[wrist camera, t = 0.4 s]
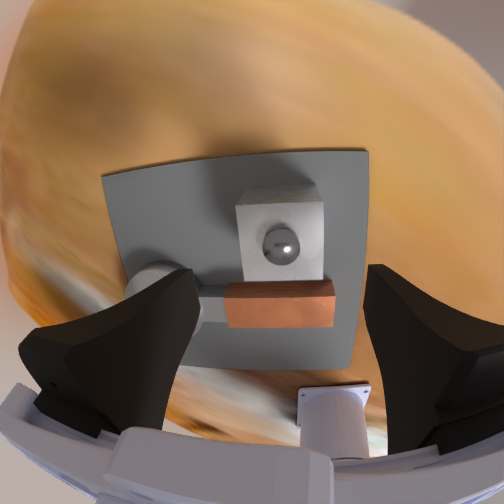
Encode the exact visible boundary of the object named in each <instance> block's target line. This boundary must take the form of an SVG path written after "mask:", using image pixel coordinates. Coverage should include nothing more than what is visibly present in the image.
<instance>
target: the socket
mask: <svg viewBox="0 0 504 504" xmlns="http://www.w3.org/2000/svg"><path fill="white" fill-rule="evenodd" d="M235 208H236V217H237V225H238V233H239V242H240V250H241V258H242V266H243V274H244V281H285V280H321V279H323V257H324V202H323V199H322V197H321V195H320V192H319V190H318V188H317V185H316V184H303V185H279V186H260V187H247V189H246V190H245V192H244V193H243V195H242V196H241V198H240V199H239V201H238V202H237V204H236V205H235Z"/></svg>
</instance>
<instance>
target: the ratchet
mask: <svg viewBox="0 0 504 504" xmlns="http://www.w3.org/2000/svg"><path fill="white" fill-rule="evenodd" d="M177 269H187V268H186V267H184V266H182V265H180V264H178V263H175V262H172V261H166V260H157V261H152V262H150V263H147V264H146V265H144V266H143V267H142V268H141V269H140V270H139V271H138V272H137V273H136V275H135V276H134V277H133V278H132V279H131V280H130V281H129V283H128V285H127V287H126V290H125V300H126V299H128V298H129V297H131V296H133V295H135V294H136V293H138V292H140V291H142V290H143V289H145V288H147V287H148V286H150V285H151V284H153V283H155V282H156V281H158V280H160V279H161V278H163V277H164V276H166V275H168V274H169V273H171V272H173V271H175V270H177ZM193 275H194V279H195V284H196V289H197V293H198V298H199V302H200V306H201V310H200V314H199V318H198V322H197V325H196V328H195V330H194V333H193V335H192V337H193V336H194V335H196V334H197V333H198V331H199V330H200V328H201V326H202V323H203V322H228V326H229V328H311V327H333V321H334V310H335V298H336V296H335V291H334V287H333V282H332V280H322V281H288V282H229V285H203V284H202V282H201V281H200V279H199V278H198V277H197V276H196V275H195V274H194V273H193Z"/></svg>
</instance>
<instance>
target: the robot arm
mask: <svg viewBox="0 0 504 504" xmlns="http://www.w3.org/2000/svg"><path fill="white" fill-rule="evenodd" d="M363 309H364V315H365V320H366V326H367V329H368V332H369V335H370V339H371V342H372V345H373V348H374V351H375V354H376V358H377V361H378V364H379V368H380V372H381V376H382V381H383V388H384V395H385V404H386V414H387V431H388V455H387V456H381V457H374V458H370V457H369V447H368V439H367V431H366V423H365V416H364V407H365V404H366V402H367V399H368V396H369V393H370V390H371V385H370V384H360V385H348V386H333V387H308V388H300V389H299V390H298V413H297V429H298V430H301V433H300V447H293V446H284V445H268V444H250V443H238V442H228V441H219V440H212V439H205V438H198V437H192V436H186V435H181V434H176V433H171V432H166V431H162V426H163V421H164V416H165V411H166V407H167V403H168V399H169V395H170V391H171V388H172V384H173V381H174V378H175V374H176V372H177V369H178V367H179V364H180V362H181V360H182V358H183V355H184V353H185V351H186V349H187V346H188V344H189V342H190V340H191V337H192V335H193V333H194V330H195V328H196V325H197V322H198V318H199V314H200V310H201V306H200V302H199V298H198V293H197V289H196V284H195V279H194V275H193V270H192V269H177V270H175V271H173V272H171V273H169V274H168V275H166V276H164V277H163V278H161V279H160V280H158V281H156V282H155V283H153V284H151V285H150V286H148V287H147V288H145V289H143V290H142V291H140V292H138V293H136V294H135V295H133V296H131V297H129V298H128V299H126V300H124V301H122V302H120V303H118V304H116V305H114V306H112V307H110V308H107V309H105V310H103V311H100V312H97V313H95V314H92V315H89V316H87V317H84V318H81V319H77V320H74V321H70V322H66V323H62V324H58V325H52V326H47V327H41V328H35V329H34V330H32V331H31V332H30V333H29V334H28V335H27V337H26V338H25V339H24V340H23V341H22V342H21V343H20V344H19V347H18V351H19V355H20V358H21V360H22V362H23V363H24V365H25V367H26V368H27V370H28V371H29V373H30V374H31V376H32V377H33V378H34V380H35V381H36V382H37V384H38V385H39V386H40V388H41V389H42V391H41V392H40V394H39V395H38V394H37V393H36V392H35V391H33V390H32V389H30V388H28V387H26V386H24V385H23V384H21V383H17V384H16V385H15V386H14V388H13V389H12V390H11V392H10V393H9V395H8V396H7V397H6V399H5V400H4V402H3V403H2V404H1V406H0V434H1V435H2V436H3V437H4V438H5V439H6V440H8V441H9V442H10V443H11V444H12V445H13V446H14V447H15V448H17V449H18V450H19V451H20V452H21V453H22V454H24V455H25V456H26V457H27V458H28V459H30V460H31V461H33V462H34V463H35V464H37V465H38V466H40V467H41V468H43V469H44V470H46V471H47V472H48V473H50V474H52V475H53V476H55V477H56V478H58V479H59V480H61V481H63V482H65V483H66V484H68V485H69V486H71V487H73V488H74V489H76V490H78V491H80V492H81V493H83V494H85V495H87V496H89V497H91V498H93V499H95V500H97V501H96V504H477V503H479V502H481V501H483V500H485V499H487V498H489V497H491V496H492V495H494V494H496V493H498V492H500V491H501V490H503V489H504V326H503V325H498V324H495V323H491V322H488V321H484V320H481V319H478V318H476V317H473V316H470V315H468V314H465V313H463V312H460V311H458V310H456V309H454V308H452V307H450V306H448V305H446V304H444V303H442V302H440V301H438V300H436V299H435V298H433V297H431V296H430V295H428V294H427V293H425V292H423V291H422V290H420V289H419V288H417V287H416V286H414V285H413V284H411V283H410V282H409V281H407V280H406V279H404V278H403V277H401V276H400V275H399V274H397V273H396V272H394V271H393V270H391V269H390V268H388V267H387V266H385V265H383V264H370V265H368V272H367V281H366V289H365V296H364V303H363Z"/></svg>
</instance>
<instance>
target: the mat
mask: <svg viewBox="0 0 504 504" xmlns="http://www.w3.org/2000/svg"><path fill="white" fill-rule="evenodd" d="M101 178H102V183H103V188H104V193H105V197H106V202H107V206H108V211H109V215H110V219H111V223H112V227H113V231H114V235H115V239H116V242H117V246H118V249H119V253H120V256H121V260H122V263H123V266H124V270H125V273H126V276H127V279H128V282H129V281H130V280H131V279H132V278H133V277H134V276H135V275H136V273H137V272H138V271H139V270H140V269H141V268H142V267H143V266H144V265H146V264H147V263H150V262H152V261H157V260H166V261H172V262H175V263H178V264H180V265H182V266H184V267H186V268H187V269H192V270H193V273H194V274H195V275H196V276H197V277H198V278H199V279H200V281H201V282H202V284H203V285H229V282H288V281H322V280H332V282H333V287H334V291H335V296H336V298H335V310H334V321H333V327H311V328H229V326H228V322H203V323H202V326H201V328H200V330H199V331H198V333H197V334H196V335H194V336H193V337H191V340H190V342H189V344H188V346H187V349H186V351H185V353H184V355H183V358H182V360H181V362H180V364H179V365H186V366H196V367H207V368H220V369H237V370H266V371H302V370H331V369H347V368H349V366H350V361H351V356H352V351H353V345H354V340H355V334H356V328H357V322H358V315H359V308H360V301H361V293H362V285H363V276H364V266H365V256H366V243H367V228H368V206H369V152H368V151H302V152H280V153H264V154H251V155H239V156H229V157H219V158H210V159H202V160H194V161H187V162H180V163H173V164H167V165H161V166H155V167H149V168H143V169H138V170H132V171H127V172H122V173H117V174H113V175H108V176H103V177H101ZM303 184H316V185H317V188H318V190H319V192H320V195H321V197H322V199H323V202H324V257H323V279H321V280H285V281H244V274H243V266H242V258H241V250H240V242H239V233H238V225H237V217H236V208H235V205H236V204H237V202H238V201H239V199H240V198H241V196H242V195H243V193H244V192H245V190H246V189H247V187H260V186H279V185H303Z"/></svg>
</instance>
